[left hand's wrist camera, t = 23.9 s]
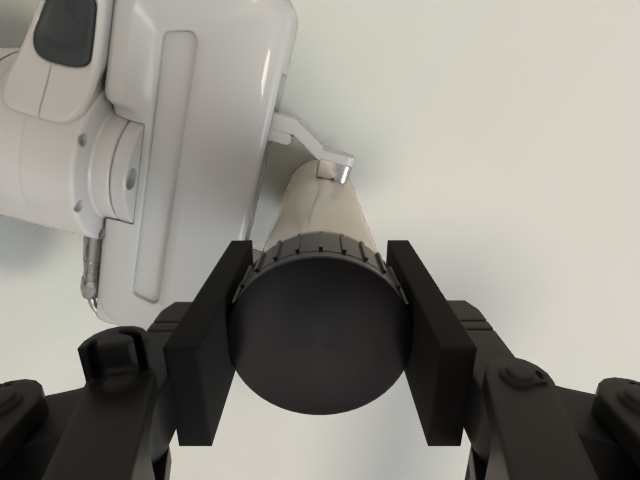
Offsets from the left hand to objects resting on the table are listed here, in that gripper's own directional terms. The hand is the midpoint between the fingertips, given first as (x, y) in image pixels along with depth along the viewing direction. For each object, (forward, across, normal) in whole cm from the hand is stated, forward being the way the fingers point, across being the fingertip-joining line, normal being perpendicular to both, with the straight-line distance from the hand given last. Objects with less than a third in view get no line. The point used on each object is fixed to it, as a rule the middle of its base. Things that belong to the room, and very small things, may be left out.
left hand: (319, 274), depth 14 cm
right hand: (+8, -1, 0) cm, 8 cm away
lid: (-4, 0, 0) cm, 4 cm away
